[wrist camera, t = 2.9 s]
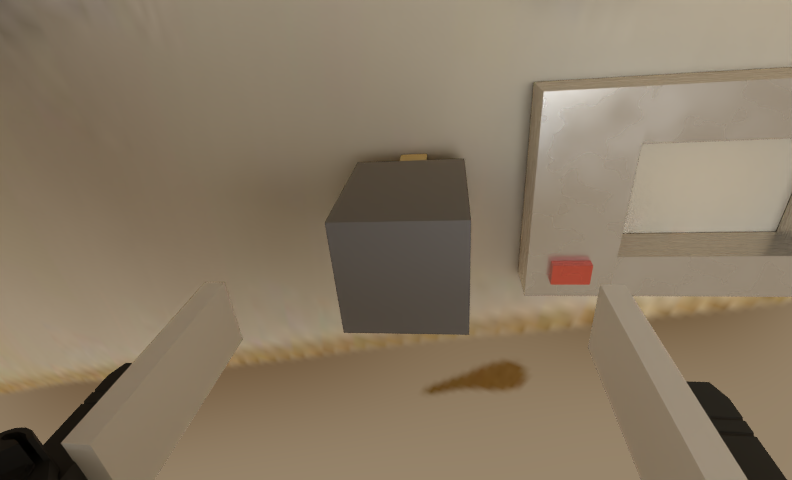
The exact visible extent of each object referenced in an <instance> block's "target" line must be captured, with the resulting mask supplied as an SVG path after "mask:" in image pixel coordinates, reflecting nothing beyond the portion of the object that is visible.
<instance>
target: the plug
mask: <svg viewBox="0 0 792 480" xmlns="http://www.w3.org/2000/svg"><path fill="white" fill-rule="evenodd" d="M325 227H326V233H327V238H328V244H329V250H330V256H331V261H332V267H333V273H334V279H335V284H336V290H337V296H338V301H339V307H340V313H341V319H342V324H343V330H344V333H400V334H459V335H469V309H470V248H471V216H470V207H469V198H468V189H467V179H466V170H465V161H464V159H443V160H427V154H409V155H401V158H400V161H387V162H359V163H357V165H356V167H355V168H354V170H353V172H352V174H351V176H350V178H349V179H348V181H347V183H346V185H345V187H344V189H343V190H342V192H341V194H340V196H339V198H338V200H337V201H336V203H335V205H334V207H333V209H332V210H331V212H330V214H329V216H328V218H327V220H326V221H325Z"/></svg>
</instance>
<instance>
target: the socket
mask: <svg viewBox="0 0 792 480" xmlns="http://www.w3.org/2000/svg"><path fill="white" fill-rule="evenodd" d="M783 138H792V67H785V68H767V69H750V70H732V71H715V72H698V73H680V74H663V75H645V76H628V77H611V78H593V79H576V80H558V81H541V82H534V83H533V96H532V108H531V120H530V132H529V144H528V156H527V168H526V180H525V192H524V204H523V216H522V228H521V240H520V252H519V264H518V273H519V276H520V280H521V284H522V288H523V292H524V295H548V296H598V294H599V289H600V285H626V287H627V288H628V290H629V291H630V293H631V295H632V296H750V297H792V196H791V198H790V201H789V203H788V205H787V208H786V210H785V212H784V215H783V217H782V220H781V222H780V224H779V227H778V229H777V231H776V232H717V233H639V234H622V233H623V229H624V224H625V220H626V215H627V210H628V206H629V201H630V197H631V192H632V187H633V183H634V178H635V174H636V169H637V164H638V160H639V155H640V151H641V146H642V144H651V143H678V142H704V141H730V140H756V139H783Z"/></svg>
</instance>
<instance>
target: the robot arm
mask: <svg viewBox="0 0 792 480" xmlns="http://www.w3.org/2000/svg"><path fill="white" fill-rule="evenodd" d="M242 340H243V338H242V335H241V332H240V329H239V326H238V323H237V320H236V316H235V313H234V310H233V307H232V304H231V301H230V298H229V295H228V291H227V288H226V285H225V282H205V283H204V284H203V285H202V286H201V287H200V288H199V289H198V291H197V292H196V293H195V294H194V295H193V296H192V297H191V298H190V300H189V301H188V302H187V303H186V304H185V305H184V306H183V307H182V308H181V310H180V311H179V312H178V313H177V314H176V315H175V316H174V317H173V318H172V320H171V321H170V322H169V323H168V324H167V325H166V326H165V327H164V329H163V330H162V331H161V332H160V333H159V334H158V335H157V336H156V337H155V339H154V340H153V341H152V342H151V343H150V344H149V345H148V346H147V347H146V349H145V350H144V351H143V352H142V353H141V354H140V355H139V356H138V358H137V359H136V360H135V361H134V362H133V363H125V364H124V365H122V366H121V367H119V368H118V369H117V370H115V371H114V372H112V373H111V374H109V375H108V376H107V377H106V378H105V379H104V380H103V381H102V383H101V384H100V385H99V386H98V387H97V388H96V389H95V392H92V393H91V394H90V396H88V398H87V399H86V400H85V401H84V404H81V405H80V406H79V407H78V408H77V409H76V410H75V411H74V413H73V414H72V415H71V416H70V417H69V418H68V419H67V420H66V421H65V422H64V423H63V424H62V425H61V427H60V428H59V429H58V430H57V431H56V432H55V433H54V434H53V435H52V436H51V437H50V438H49V439H48V441H47V442H46V443H45V444H44V445H42V443H41V442H40V441H39V439H38V438H37V437H36V435H35V434H34V432H33V431H32V430H30V429H28V428H14V429H11V430H8V431H4V432H2V433H0V480H155V478H156V477H157V475H158V473H159V472H160V470H161V469H162V467H163V465H164V463H165V462H166V461H167V459H168V457H169V456H170V454H171V453H172V451H173V450H174V448H175V446H176V445H177V443H178V441H179V440H180V438H181V437H182V435H183V434H184V432H185V430H186V429H187V427H188V426H189V424H190V422H191V421H192V419H193V417H194V416H195V415H196V413H197V411H198V410H199V408H200V406H201V405H202V403H203V401H204V400H205V399H206V397H207V395H208V394H209V392H210V391H211V389H212V387H213V386H214V384H215V383H216V381H217V379H218V378H219V376H220V375H221V373H222V372H223V370H224V368H225V367H226V365H227V364H228V362H229V360H230V359H231V357H232V356H233V354H234V352H235V351H236V349H237V348H238V346H239V344H240V343H241V341H242ZM588 349H589V352H590V354H591V357H592V359H593V362H594V364H595V366H596V369H597V372H598V374H599V377H600V379H601V382H602V384H603V387H604V389H605V392H606V394H607V397H608V399H609V402H610V404H611V407H612V409H613V412H614V414H615V417H616V419H617V422H618V424H619V426H620V429H621V431H622V434H623V437H624V439H625V441H626V444H627V446H628V449H629V451H630V453H631V456H632V459H633V461H634V464H635V466H636V469H637V471H638V474H639V476H640V479H641V480H787V479H786V478H785V477H784V475H783V474H782V472H781V471H780V469H779V468H778V467H777V465H776V464H775V462H774V461H773V459H772V458H771V457H770V455H769V454H768V452H767V451H766V450H765V448H764V447H763V446H762V444H761V443H760V441H759V440H758V438H757V437H754V433H753V431H752V430H751V429H750V427H749V426H748V424H747V423H746V422H745V421H743V419H742V416H741V414H740V413H739V412H738V410H737V409H736V407H735V406H734V405H733V403H732V402H731V400H730V399H729V398H728V397H727V396H725V395H724V394H723V393H721V392H720V391H719V390H718V389H717V388H715V387H714V386H713V385H712V384H710V383H709V382H686V381H685V379H684V377H683V376H682V374H681V373H680V371H679V369H678V368H677V367H676V365H675V363H674V361H673V360H672V358H671V357H670V355H669V354H668V352H667V350H666V349H665V347H664V346H663V344H662V343H661V341H660V339H659V338H658V336H657V335H656V333H655V331H654V330H653V328H652V326H651V325H650V323H649V322H648V320H647V319H646V317H645V315H644V314H643V312H642V311H641V309H640V307H639V306H638V304H637V303H636V301H635V299H634V298H633V296H632V295H631V293H630V291H629V290H628V288H627V287H626V285H600V289H599V294H598V299H597V304H596V309H595V314H594V320H593V325H592V330H591V335H590V340H589V345H588Z"/></svg>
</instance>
